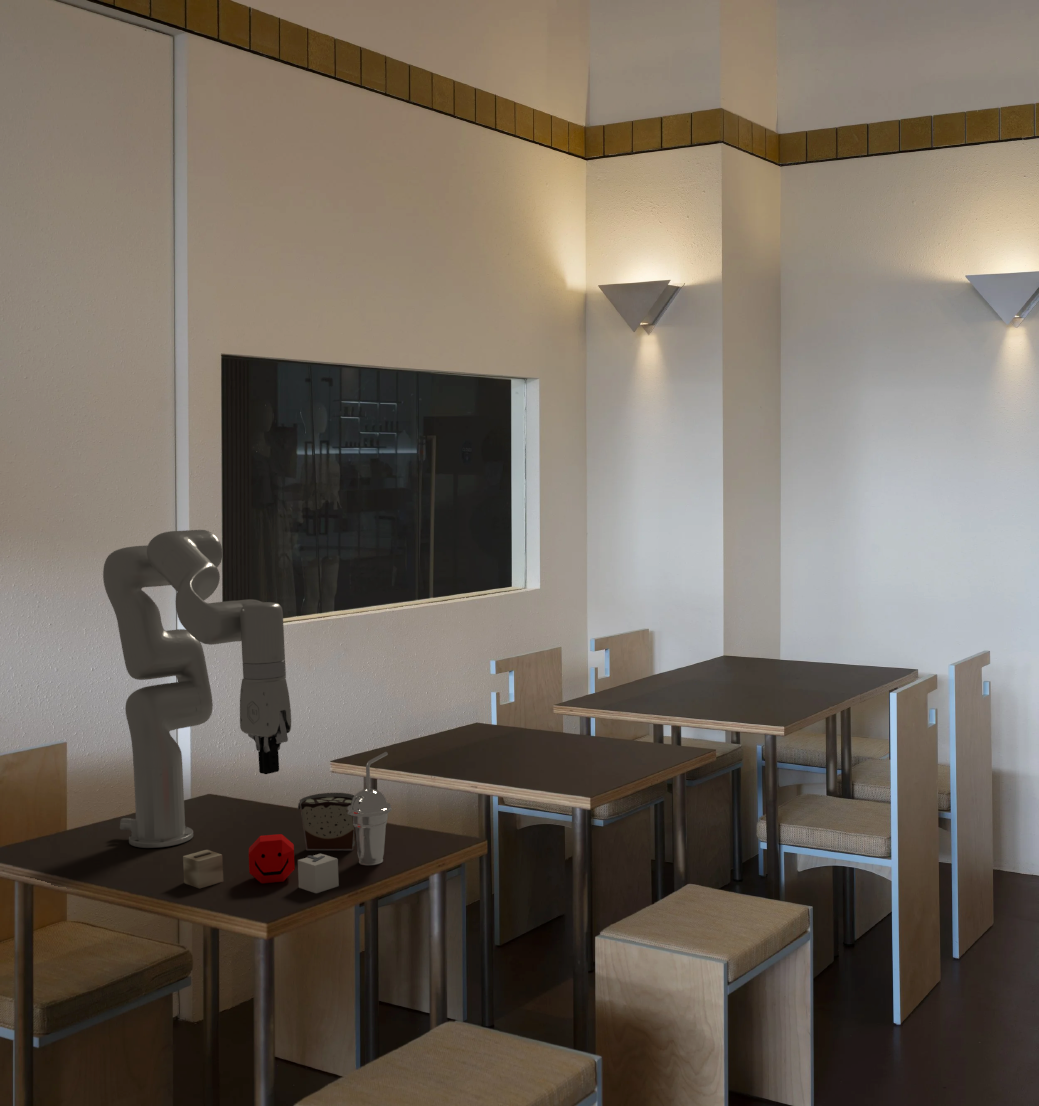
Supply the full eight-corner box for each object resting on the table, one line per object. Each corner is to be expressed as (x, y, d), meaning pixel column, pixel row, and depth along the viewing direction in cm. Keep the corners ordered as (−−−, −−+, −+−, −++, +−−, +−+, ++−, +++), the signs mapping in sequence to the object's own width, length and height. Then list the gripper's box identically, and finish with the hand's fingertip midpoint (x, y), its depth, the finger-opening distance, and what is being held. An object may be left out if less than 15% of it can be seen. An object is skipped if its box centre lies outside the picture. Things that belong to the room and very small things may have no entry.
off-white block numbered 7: (298, 887, 216) (296, 859, 216) (320, 880, 220) (319, 852, 220) (315, 893, 213) (314, 864, 213) (338, 886, 216) (337, 857, 216)
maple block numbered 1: (184, 883, 221) (182, 855, 220) (208, 876, 224) (207, 848, 224) (199, 889, 217) (197, 860, 217) (223, 881, 221) (222, 853, 221)
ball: (249, 888, 217) (247, 846, 216) (250, 874, 224) (248, 833, 224) (295, 884, 218) (293, 842, 218) (294, 870, 226) (292, 830, 226)
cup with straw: (342, 859, 232) (338, 755, 231) (387, 851, 236) (383, 749, 235) (356, 871, 224) (352, 764, 223) (402, 863, 228) (399, 758, 227)
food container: (367, 841, 243) (365, 791, 243) (360, 850, 237) (358, 799, 237) (307, 841, 245) (305, 791, 244) (298, 850, 239) (296, 799, 238)
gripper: (223, 671, 221) (228, 771, 222) (271, 677, 211) (276, 782, 212) (258, 665, 227) (262, 763, 228) (306, 671, 217) (311, 773, 217)
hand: (269, 772), depth 220 cm, fingers closed
